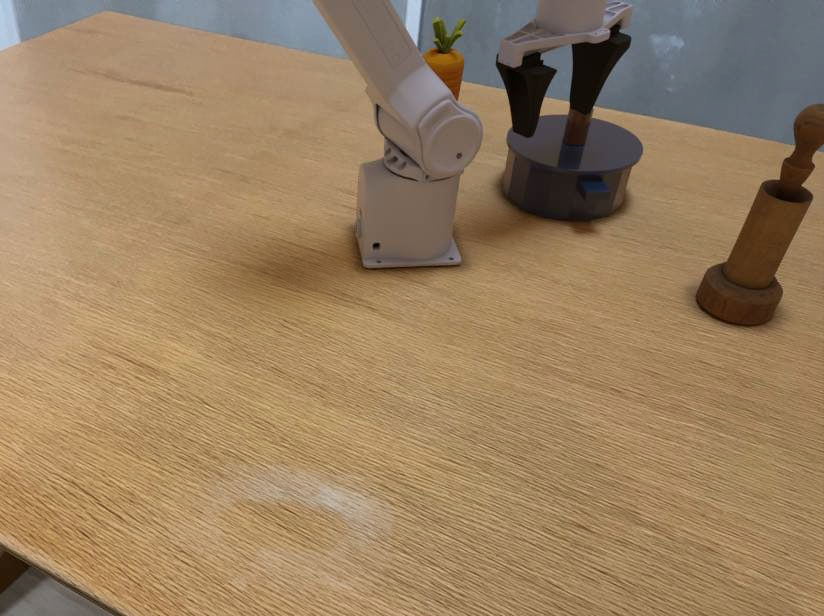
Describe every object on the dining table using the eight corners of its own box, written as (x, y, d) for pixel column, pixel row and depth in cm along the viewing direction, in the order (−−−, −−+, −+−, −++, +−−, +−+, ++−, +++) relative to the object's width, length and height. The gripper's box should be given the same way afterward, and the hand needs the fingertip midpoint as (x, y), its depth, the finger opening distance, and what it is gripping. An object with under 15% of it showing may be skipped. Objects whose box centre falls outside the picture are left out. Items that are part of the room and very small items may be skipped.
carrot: (451, 140, 100) (469, 9, 90) (454, 158, 96) (472, 23, 86) (410, 138, 101) (423, 8, 90) (411, 156, 97) (424, 22, 87)
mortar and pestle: (776, 332, 71) (880, 130, 59) (696, 317, 72) (782, 116, 60) (769, 291, 75) (864, 96, 63) (694, 277, 77) (773, 85, 65)
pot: (526, 236, 83) (536, 187, 79) (484, 157, 96) (492, 112, 93) (649, 232, 83) (664, 183, 80) (590, 154, 97) (601, 109, 93)
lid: (524, 183, 81) (533, 139, 78) (491, 126, 92) (498, 84, 89) (661, 178, 82) (675, 134, 79) (613, 121, 92) (624, 80, 89)
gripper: (551, -3, 64) (527, 159, 73) (674, -42, 69) (637, 114, 79) (488, -22, 69) (472, 133, 78) (608, -58, 74) (580, 91, 83)
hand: (551, 122), depth 79 cm, fingers open, 7 cm apart
